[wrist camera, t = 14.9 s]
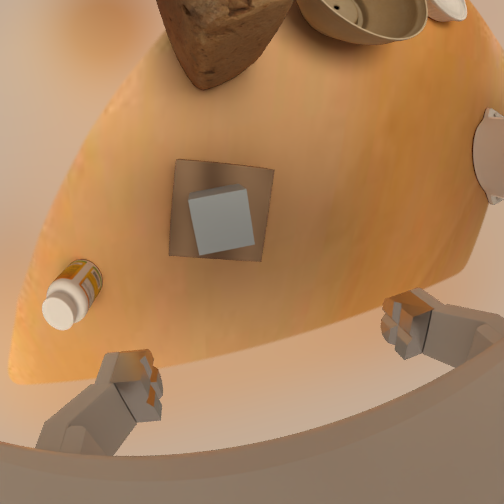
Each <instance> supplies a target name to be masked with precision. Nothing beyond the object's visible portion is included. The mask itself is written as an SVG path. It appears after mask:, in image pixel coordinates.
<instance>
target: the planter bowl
mask: <svg viewBox="0 0 504 504" xmlns="http://www.w3.org/2000/svg"><path fill="white" fill-rule="evenodd" d="M296 2H297V4H298V6H299V8H300V11H301V13H302V15H303V17H304V18H305V20H306V21H307V22H308V23H309V24H310V25H311V26H312V27H313V28H314V29H315V30H317V31H318V32H320V33H322V34H324V35H326V36H328V37H331V38H335V39H339V40H342V41H346V42H350V43H355V44H363V45H379V44H386V43H391V42H395V41H402V40H407V39H410V38H412V37H415V36H416V35H418V34H419V33H420V32H421V31H422V30H423V28H424V27H425V25H426V22H427V17H428V8H427V2H426V0H296ZM334 6H338V7H339V9H338V10H337V9H335V8H334Z"/></svg>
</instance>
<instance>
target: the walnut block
mask: <svg viewBox="0 0 504 504" xmlns="http://www.w3.org/2000/svg"><path fill="white" fill-rule="evenodd" d="M273 177H274V170H272V169H267V168H261V167H253V166H245V165H237V164H228V163H218V162H208V161H197V160H185V159H176V166H175V175H174V186H173V197H172V210H171V224H170V241H169V256H181V257H196V258H210V259H225V260H241V261H256V262H261V260H262V253H263V246H264V239H265V233H266V226H267V219H268V212H269V205H270V198H271V191H272V184H273ZM234 184H240V185H241V186H243V187H244V188H246V189H247V196H248V202H249V209H250V215H251V222H252V229H253V235H254V242H255V245H250V246H245V247H240V248H235V249H230V250H225V251H220V252H215V253H210V254H205V255H200V256H199V251H198V247H197V242H196V237H195V232H194V228H193V223H192V218H191V213H190V208H189V203H188V198H189V194H190V193H191V192H196V191H201V190H206V189H212V188H217V187H223V186H228V185H234Z"/></svg>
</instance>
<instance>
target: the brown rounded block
mask: <svg viewBox="0 0 504 504" xmlns="http://www.w3.org/2000/svg"><path fill="white" fill-rule="evenodd" d="M156 1H157V5H158V8H159V11H160V14H161V17H162V19H163V23H164V26H165V28H166V31H167V34H168V37H169V39H170V42H171V44H172V47H173V49H174V51H175V53H176V56H177V58H178V60H179V62H180V64H181V66H182V68H183V69H184V71H185V73H186V74H187V76H188V77H189V79H190V80H191V81H192V83H193V84H194V85H195V86H196V87H198V88H200V89H202V90H205V89H209V88H211V87H214V86H217V85H219V84H221V83H223V82H226V81H228V80H230V79H232V78H234V77H235V76H237V75H238V74H240V73H241V72H242V71H244V70H245V69H246V68H247V67H249V66H250V65H251V64H253V63H254V62H255V61H256V60H257V59H258V58H259V57H260V56H261V54H262V53H263V51H264V50H265V48H266V46H267V45H268V44H269V42H270V41H271V39H272V38H273V36H274V35H275V33H276V32H277V30H278V28H279V27H280V25H281V24H282V22H283V20H284V19H285V17H286V15H287V13H288V11H289V10H290V8H291V6H292V3H293V1H294V0H156Z"/></svg>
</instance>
